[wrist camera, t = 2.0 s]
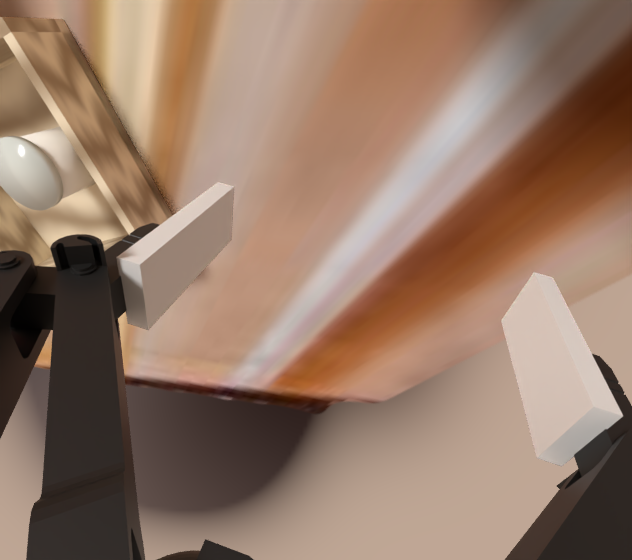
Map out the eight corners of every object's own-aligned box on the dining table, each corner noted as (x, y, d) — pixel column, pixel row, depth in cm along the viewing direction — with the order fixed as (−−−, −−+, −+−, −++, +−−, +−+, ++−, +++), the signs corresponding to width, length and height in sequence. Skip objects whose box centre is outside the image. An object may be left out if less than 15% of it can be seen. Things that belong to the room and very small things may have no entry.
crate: (-62, 98, 47) (-127, 106, 42) (63, 19, 38) (1, 16, 33) (60, 258, 59) (22, 282, 53) (179, 226, 50) (148, 251, 44)
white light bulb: (45, 131, 45) (-27, 150, 38) (88, 111, 42) (18, 127, 35) (84, 189, 48) (24, 217, 41) (125, 174, 46) (69, 201, 38)
